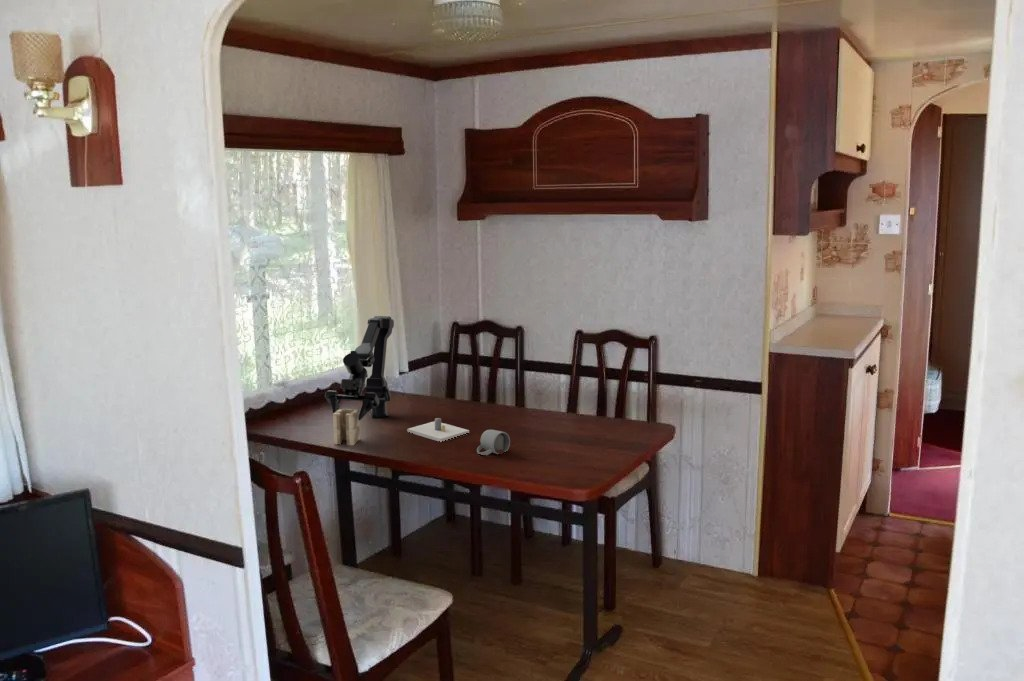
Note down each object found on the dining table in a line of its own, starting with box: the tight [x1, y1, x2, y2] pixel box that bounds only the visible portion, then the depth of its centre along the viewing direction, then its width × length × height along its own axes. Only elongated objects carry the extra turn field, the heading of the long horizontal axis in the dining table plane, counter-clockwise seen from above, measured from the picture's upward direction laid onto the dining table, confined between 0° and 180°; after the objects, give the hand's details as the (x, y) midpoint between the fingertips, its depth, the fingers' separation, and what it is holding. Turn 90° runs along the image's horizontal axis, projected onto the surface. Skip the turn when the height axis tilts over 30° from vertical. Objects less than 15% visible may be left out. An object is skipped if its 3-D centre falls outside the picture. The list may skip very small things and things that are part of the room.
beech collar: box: [332, 408, 361, 446], centre depth 298 cm, size 7×7×11 cm
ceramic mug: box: [476, 429, 511, 456], centre depth 287 cm, size 11×8×8 cm
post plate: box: [406, 417, 470, 443], centre depth 309 cm, size 18×14×5 cm
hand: (346, 419), depth 298 cm, fingers open, 9 cm apart
